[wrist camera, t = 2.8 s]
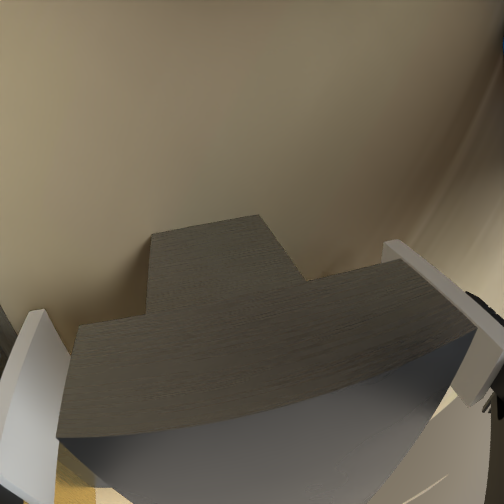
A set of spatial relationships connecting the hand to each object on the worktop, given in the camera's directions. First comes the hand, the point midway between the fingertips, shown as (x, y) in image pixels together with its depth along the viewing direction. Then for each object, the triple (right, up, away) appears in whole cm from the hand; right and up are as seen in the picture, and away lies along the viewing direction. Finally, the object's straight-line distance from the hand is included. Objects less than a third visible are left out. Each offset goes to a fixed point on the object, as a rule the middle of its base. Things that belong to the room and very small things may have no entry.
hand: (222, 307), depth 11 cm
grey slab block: (0, +1, +1) cm, 2 cm away
